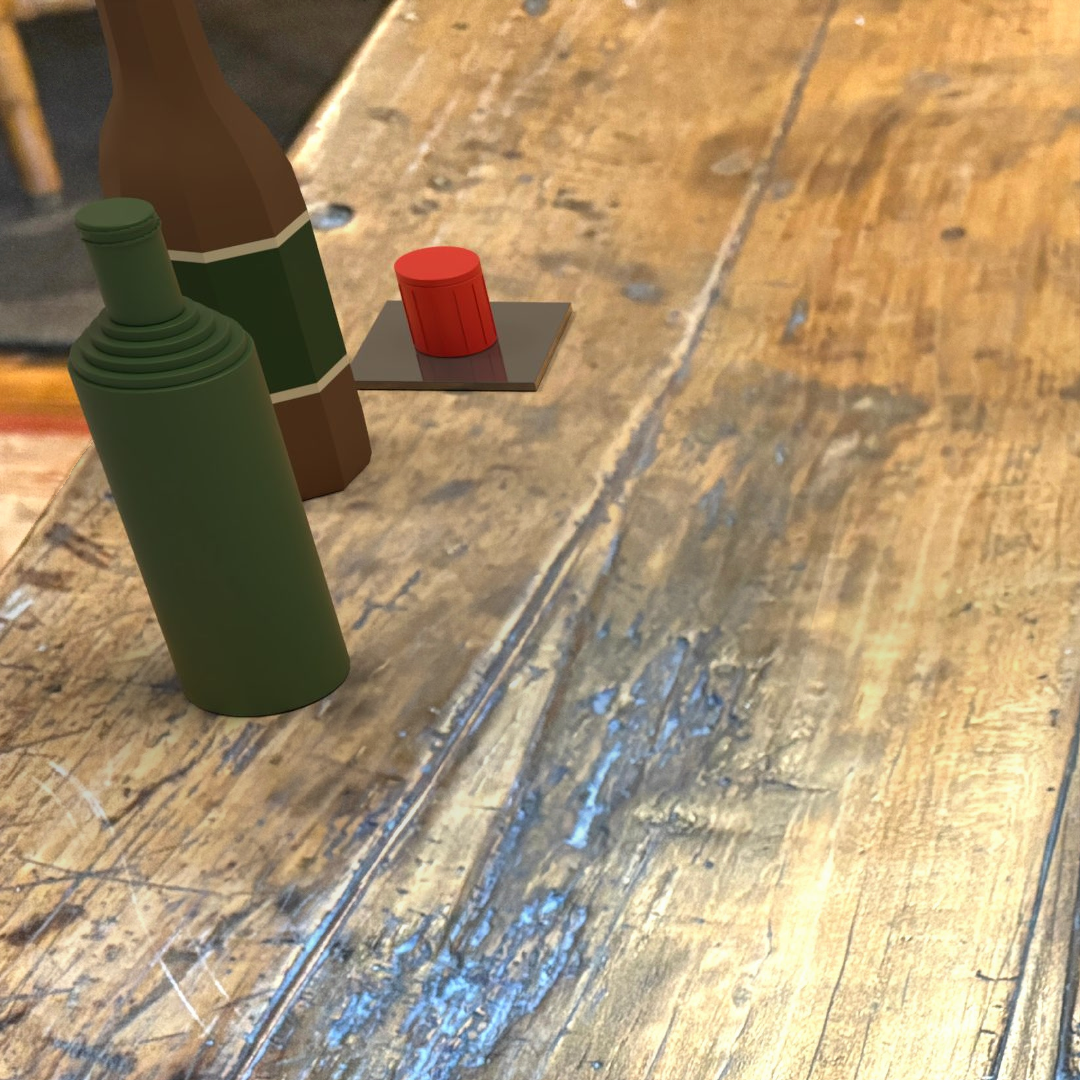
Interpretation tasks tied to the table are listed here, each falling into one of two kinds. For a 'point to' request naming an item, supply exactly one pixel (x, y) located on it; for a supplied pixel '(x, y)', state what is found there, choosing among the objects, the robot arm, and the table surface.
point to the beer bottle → (231, 225)
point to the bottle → (201, 479)
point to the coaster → (502, 366)
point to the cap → (445, 301)
